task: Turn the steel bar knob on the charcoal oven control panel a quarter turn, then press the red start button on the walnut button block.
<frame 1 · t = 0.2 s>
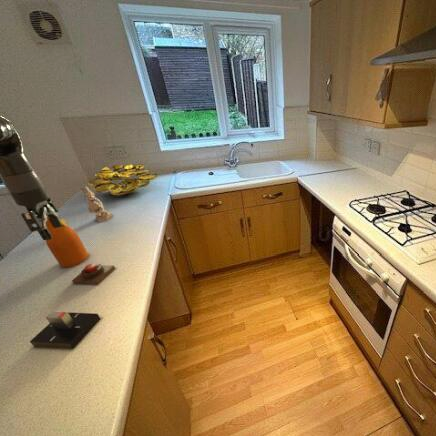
hand: (53, 232, 79), 23 cm above the worktop, tool pointing down, fingers open, 8 cm apart
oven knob: (60, 320, 69), point 6 cm above the worktop, hinge at 0.0°
start button: (90, 268, 92), point 4 cm above the worktop, slide at 0.1 cm
button block: (95, 277, 94), on the worktop
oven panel: (70, 333, 72), on the worktop
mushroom: (128, 192, 174), on the worktop
figurine: (104, 220, 137), on the worktop
wine bottle: (75, 261, 103), on the worktop
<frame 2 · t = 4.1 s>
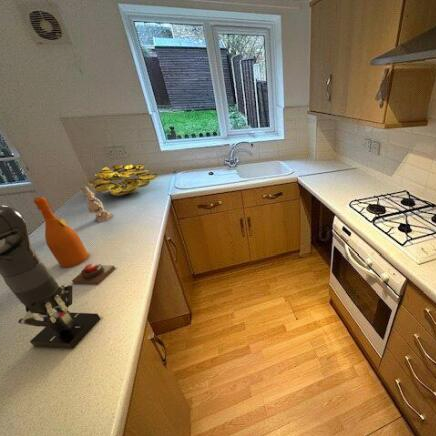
hand: (63, 324, 70), 4 cm above the worktop, tool pointing down, fingers closed on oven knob, 2 cm apart
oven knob: (60, 320, 69), point 6 cm above the worktop, hinge at 0.1°, touching gripper
everything else where it was.
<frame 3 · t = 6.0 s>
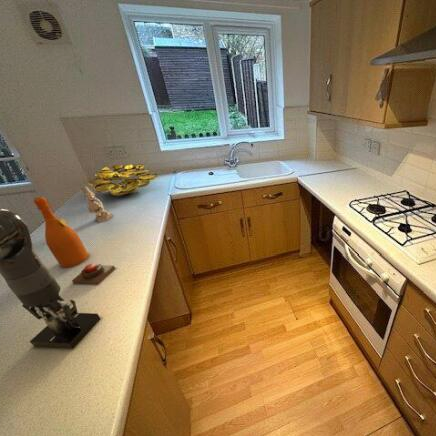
hand: (65, 326, 70), 3 cm above the worktop, tool pointing down, fingers open, 4 cm apart
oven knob: (60, 320, 69), point 6 cm above the worktop, hinge at 89.3°
everything else where it was.
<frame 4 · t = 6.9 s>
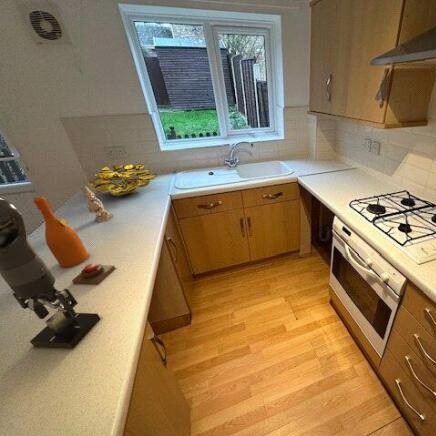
hand: (58, 317, 69), 7 cm above the worktop, tool pointing down, fingers open, 8 cm apart
nothing on the worktop moved.
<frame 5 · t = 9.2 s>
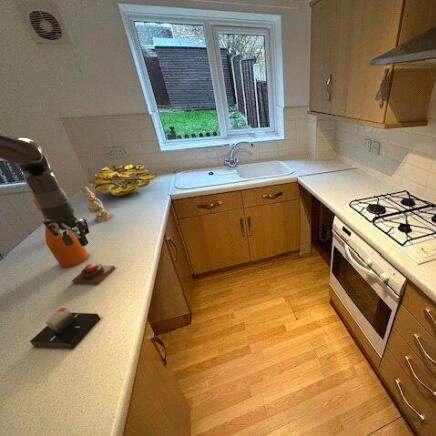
hand: (77, 244, 86), 15 cm above the worktop, tool pointing down, fingers open, 5 cm apart
nothing on the worktop moved.
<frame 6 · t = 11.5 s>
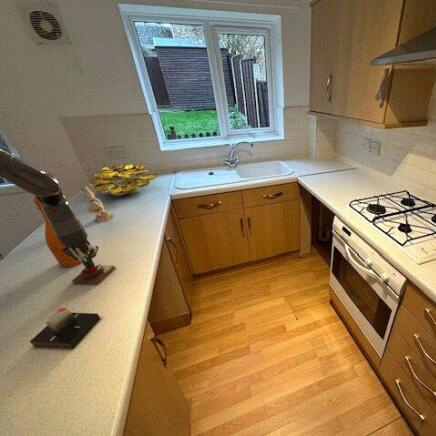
hand: (90, 267, 92), 5 cm above the worktop, tool pointing down, fingers closed
start button: (91, 269, 92), point 4 cm above the worktop, slide at -0.4 cm, touching gripper
everything else where it was.
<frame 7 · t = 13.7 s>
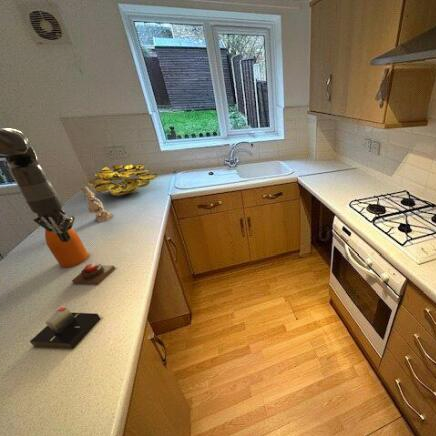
hand: (66, 240, 84), 18 cm above the worktop, tool pointing down, fingers closed
start button: (90, 268, 92), point 4 cm above the worktop, slide at 0.1 cm
everything else where it was.
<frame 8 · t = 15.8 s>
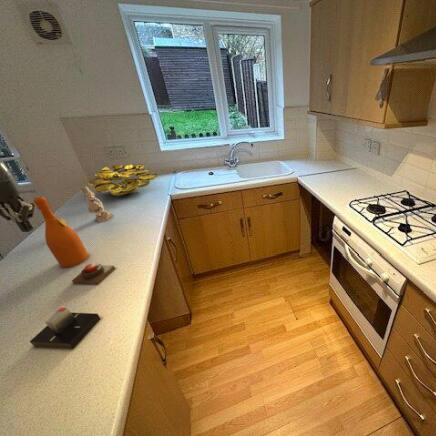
hand: (28, 230, 77), 25 cm above the worktop, tool pointing down, fingers closed
nothing on the worktop moved.
at the end: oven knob at +89° (first picture: +0°); start button pushed in 1.1 cm at the most during the clip, back to where it started at the end; start button slide at 0.1 cm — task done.
